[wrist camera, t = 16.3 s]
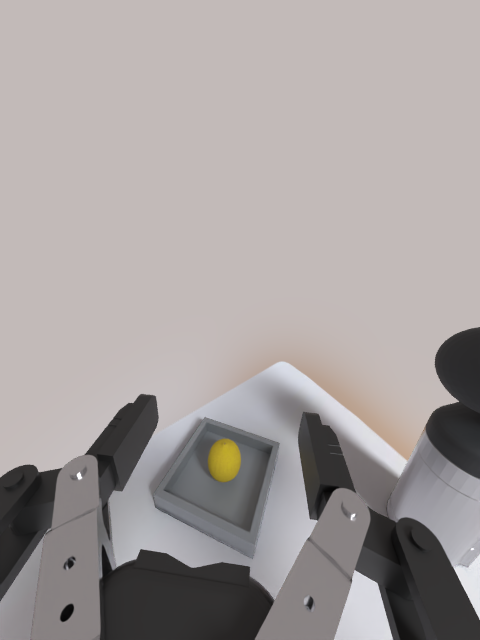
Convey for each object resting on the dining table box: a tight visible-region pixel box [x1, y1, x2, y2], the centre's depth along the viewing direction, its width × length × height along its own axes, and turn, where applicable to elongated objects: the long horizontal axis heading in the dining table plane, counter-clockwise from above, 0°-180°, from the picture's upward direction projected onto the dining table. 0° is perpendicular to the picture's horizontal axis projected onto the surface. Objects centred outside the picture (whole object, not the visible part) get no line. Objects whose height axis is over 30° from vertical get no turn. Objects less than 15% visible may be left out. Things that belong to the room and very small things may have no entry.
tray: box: [153, 417, 280, 559], centre depth 39 cm, size 16×16×4 cm
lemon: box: [208, 439, 241, 482], centre depth 38 cm, size 6×6×8 cm
